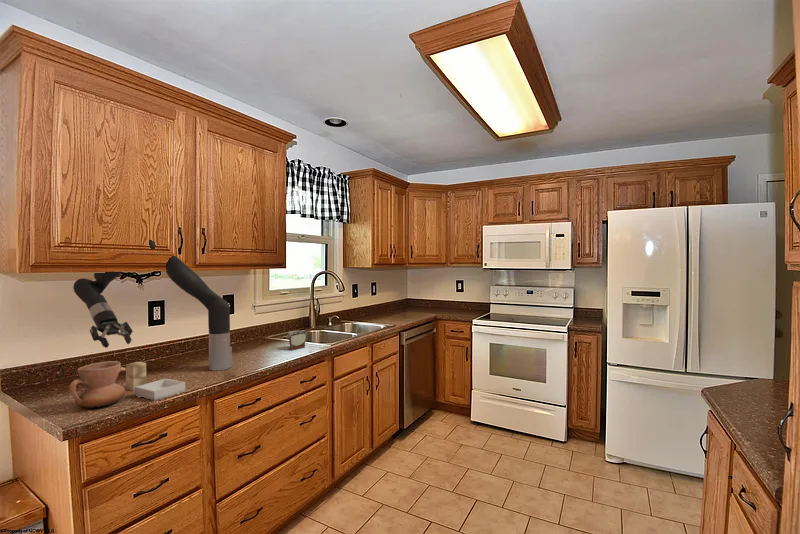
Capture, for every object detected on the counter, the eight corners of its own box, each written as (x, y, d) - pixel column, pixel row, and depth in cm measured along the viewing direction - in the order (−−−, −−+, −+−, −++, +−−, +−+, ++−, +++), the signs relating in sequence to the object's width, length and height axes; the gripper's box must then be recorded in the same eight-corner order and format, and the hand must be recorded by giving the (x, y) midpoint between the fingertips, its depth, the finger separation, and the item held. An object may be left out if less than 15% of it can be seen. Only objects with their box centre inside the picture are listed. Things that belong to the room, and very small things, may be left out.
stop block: (139, 385, 162) (138, 361, 162) (146, 387, 160) (146, 362, 160) (126, 389, 157) (125, 364, 157) (133, 390, 155) (133, 365, 155)
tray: (165, 386, 160) (165, 378, 160) (185, 391, 155) (185, 382, 155) (134, 396, 149) (134, 387, 149) (154, 400, 144) (154, 391, 144)
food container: (300, 346, 237) (299, 329, 237) (306, 347, 233) (306, 330, 233) (283, 349, 227) (283, 332, 227) (290, 351, 223) (289, 333, 223)
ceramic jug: (114, 393, 152) (112, 357, 151) (137, 398, 146) (136, 360, 145) (58, 411, 135) (56, 370, 135) (82, 417, 129) (80, 374, 129)
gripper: (87, 311, 161) (103, 341, 156) (124, 308, 173) (140, 335, 169) (80, 323, 163) (95, 353, 158) (117, 319, 176) (132, 346, 171)
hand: (118, 344), depth 163 cm, fingers open, 8 cm apart
